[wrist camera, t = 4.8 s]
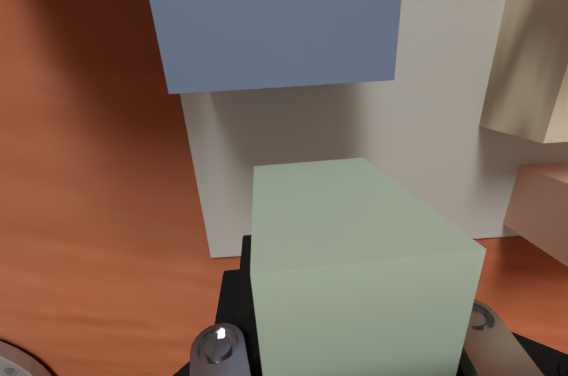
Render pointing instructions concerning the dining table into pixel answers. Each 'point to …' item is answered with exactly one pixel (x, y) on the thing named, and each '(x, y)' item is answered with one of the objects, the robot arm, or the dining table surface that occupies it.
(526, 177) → the terracotta block
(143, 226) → the dining table surface
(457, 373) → the robot arm
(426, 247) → the sage block
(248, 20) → the slate blue block
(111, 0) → the dining table surface
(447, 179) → the felt placemat
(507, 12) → the beech block
